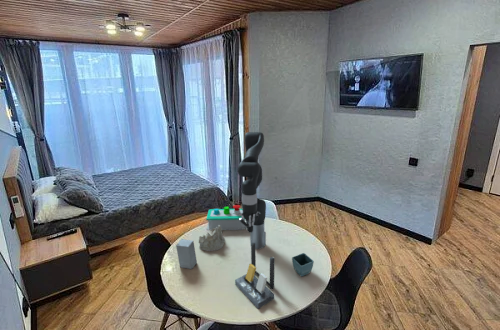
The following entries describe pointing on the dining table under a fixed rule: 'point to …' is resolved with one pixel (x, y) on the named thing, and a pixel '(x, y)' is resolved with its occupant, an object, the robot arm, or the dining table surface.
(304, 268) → the flower pot
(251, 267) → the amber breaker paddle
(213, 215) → the control panel
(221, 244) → the jagged rock sculpture
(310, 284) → the dining table surface
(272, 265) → the cable posts
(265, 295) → the strip
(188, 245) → the skincare box
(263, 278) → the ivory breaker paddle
